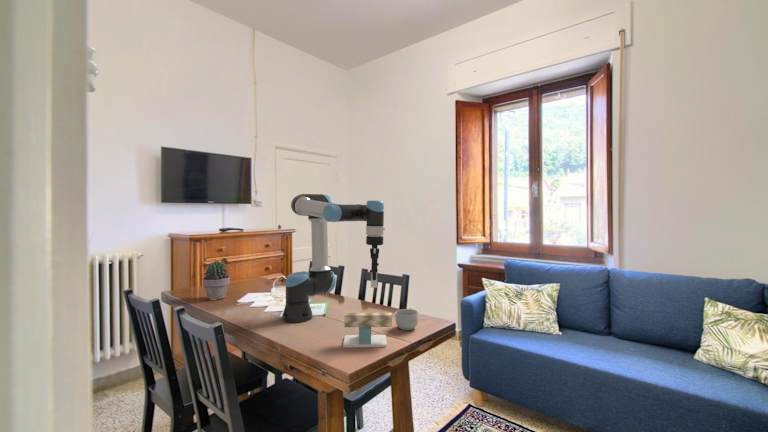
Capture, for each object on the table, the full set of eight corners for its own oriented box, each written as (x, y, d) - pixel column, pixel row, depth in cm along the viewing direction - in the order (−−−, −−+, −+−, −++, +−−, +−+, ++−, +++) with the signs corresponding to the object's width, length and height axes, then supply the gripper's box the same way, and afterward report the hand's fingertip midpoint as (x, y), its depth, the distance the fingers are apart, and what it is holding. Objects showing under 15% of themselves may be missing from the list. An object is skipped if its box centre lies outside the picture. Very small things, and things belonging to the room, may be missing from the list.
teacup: (411, 333, 158) (411, 316, 158) (390, 329, 164) (390, 312, 164) (424, 325, 170) (424, 308, 170) (404, 321, 176) (404, 305, 176)
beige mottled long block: (344, 327, 146) (344, 315, 146) (345, 324, 150) (345, 313, 150) (391, 326, 147) (391, 315, 147) (391, 324, 150) (391, 312, 150)
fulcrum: (343, 347, 143) (343, 330, 143) (345, 337, 154) (345, 321, 154) (386, 346, 143) (386, 330, 143) (385, 337, 154) (385, 321, 154)
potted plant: (191, 302, 210) (191, 261, 210) (212, 294, 230) (212, 256, 229) (218, 303, 207) (218, 262, 207) (237, 295, 227) (237, 257, 226)
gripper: (384, 238, 140) (383, 290, 141) (382, 233, 165) (382, 277, 166) (365, 238, 140) (364, 290, 141) (367, 233, 165) (366, 277, 165)
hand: (374, 283), depth 153 cm, fingers open, 13 cm apart
